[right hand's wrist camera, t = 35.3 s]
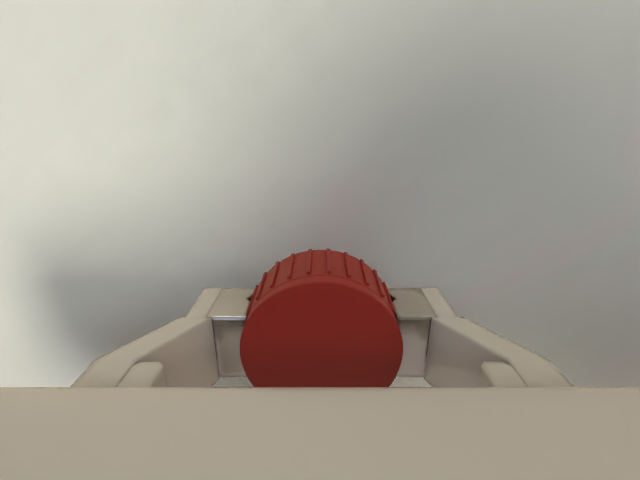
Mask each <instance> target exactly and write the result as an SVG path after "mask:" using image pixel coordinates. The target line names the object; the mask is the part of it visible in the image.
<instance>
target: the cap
mask: <svg viewBox="0 0 640 480" xmlns="http://www.w3.org/2000/svg"><path fill="white" fill-rule="evenodd" d="M394 311H395V308H394V306H393V303H392V300H391V297H390V295H389V292H388V289H387V287H386V284H385V282H383V283H382V281H381V280H380V278H379V277H378V275H377V272H376V270H375V269H374V270H372V269H371V268H370V267H369V266H367V265H366V264H365V263H364V261H363V260H362V259H360V260H358V259H357V258H355V257H353V256H350V255H348V253H347V252H344V253H341V252H337V251H331V250H330V249H327V250H312V249H309V250H308V251H306V252H301V253H298V254H294V253H293V254H291V256H290V257H288V258H286V259H284V260H282V261H281V262H279V261H278V262H276V264H275V266H274V267H273V268H272V269H271V270H269V272H268V273H266V272H265V273H264V275H263V278H262V281H261V282H260V284H259V286H258V285H256V287H255V290H254V293H253V295H252V298H251V301H250V304H249V306H248V309H247V312H246V315H248V316H247V319H246V322H245V324H244V327H243V330H242V334H241V338H240V358H241V363H242V366H243V369H244V371H245V374H246V375H247V377H248V379H249V381H250V382H251V383H252V385H253V386H254V387H389V386H390V385H391V383H392V382H393V380H394V379H395V377H396V375H397V373H398V371H399V369H400V365H401V362H402V357H403V340H402V334H401V331H400V328H399V325H398V323H397V320H396V317H395V314H394Z"/></svg>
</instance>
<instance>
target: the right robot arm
mask: <svg viewBox="0 0 640 480" xmlns="http://www.w3.org/2000/svg"><path fill="white" fill-rule="evenodd" d="M254 290H255V289H239V288H205V289H204V290H203V291H202V293H201V294H200V296H199V297H198V299H197V300H196V302H195V303H194V305H193V306H192V308H191V309H190V311H189V312H188V314H187V315H186V317H182V318H178V319H176V320H174V321H172V322H170V323H168V324H166V325H164V326H162V327H160V328H158V329H156V330H154V331H152V332H150V333H148V334H146V335H144V336H142V337H140V338H138V339H136V340H134V341H132V342H130V343H128V344H126V345H124V346H122V347H120V348H118V349H116V350H114V351H112V352H110V353H108V354H106V355H104V356H102V357H100V358H98V359H96V360H94V361H93V363H92V364H91V365H90V366H89V367H88V368H87V369H86V370H85V371H84V373H83V374H82V375H81V376H80V377H79V378H78V379H77V380H76V381H75V382H74V384H73V385H72V386H71V387H0V480H640V387H573V385H572V384H571V383H570V382H569V381H568V380H567V379H566V378H565V377H564V376H563V375H562V373H561V372H560V371H559V370H558V369H557V368H556V367H555V366H554V365H553V364H552V362H551V361H549V360H547V359H545V358H543V357H541V356H539V355H537V354H535V353H533V352H531V351H529V350H527V349H525V348H523V347H521V346H519V345H517V344H515V343H513V342H511V341H509V340H507V339H505V338H503V337H501V336H499V335H497V334H495V333H493V332H491V331H489V330H487V329H485V328H483V327H481V326H479V325H477V324H475V323H473V322H471V321H469V320H467V319H465V318H461V317H457V315H456V314H455V313H454V311H453V310H452V308H451V307H450V305H449V304H448V302H447V301H446V299H445V298H444V296H443V295H442V293H441V292H440V290H439V289H437V288H403V289H388V292H389V295H390V297H391V300H392V303H393V306H394V308H395V311H394V314H395V317H396V320H397V323H398V325H399V328H400V331H401V334H402V340H403V357H402V362H401V365H400V369H399V371H398V373H397V375H396V376H404V377H424V379H425V380H426V381H427V382H428V383H429V384H430V385H431V386H432V387H211V386H212V385H213V384H214V383H215V382H216V381H217V380H218V379H219V377H238V376H247V375H246V374H245V371H244V369H243V366H242V363H241V358H240V338H241V334H242V330H243V327H244V324H245V322H246V319H247V316H248V315H246V312H247V309H248V306H249V304H250V301H251V298H252V295H253V293H254Z"/></svg>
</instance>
